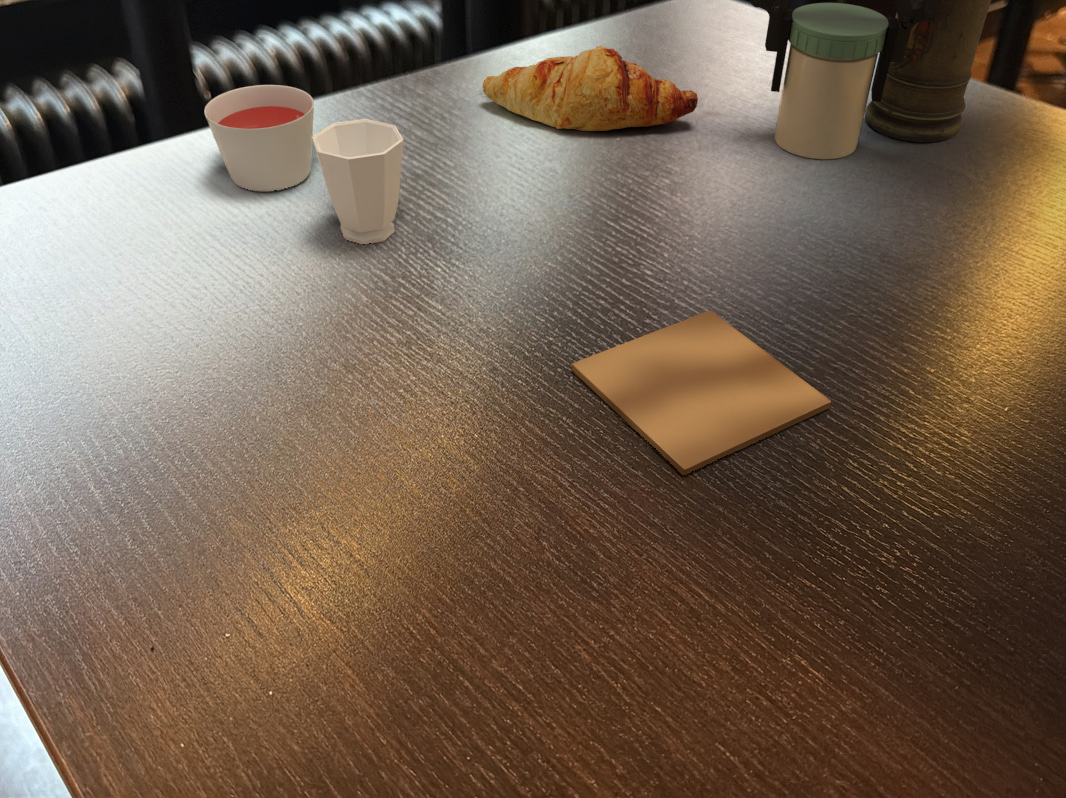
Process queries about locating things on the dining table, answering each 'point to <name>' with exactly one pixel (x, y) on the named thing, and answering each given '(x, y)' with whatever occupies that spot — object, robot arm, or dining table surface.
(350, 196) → the cup
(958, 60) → the container
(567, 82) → the croissant
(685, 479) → the dining table surface
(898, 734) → the dining table surface
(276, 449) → the dining table surface
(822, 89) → the jar
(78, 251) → the dining table surface
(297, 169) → the candle
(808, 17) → the lid
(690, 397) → the coaster
